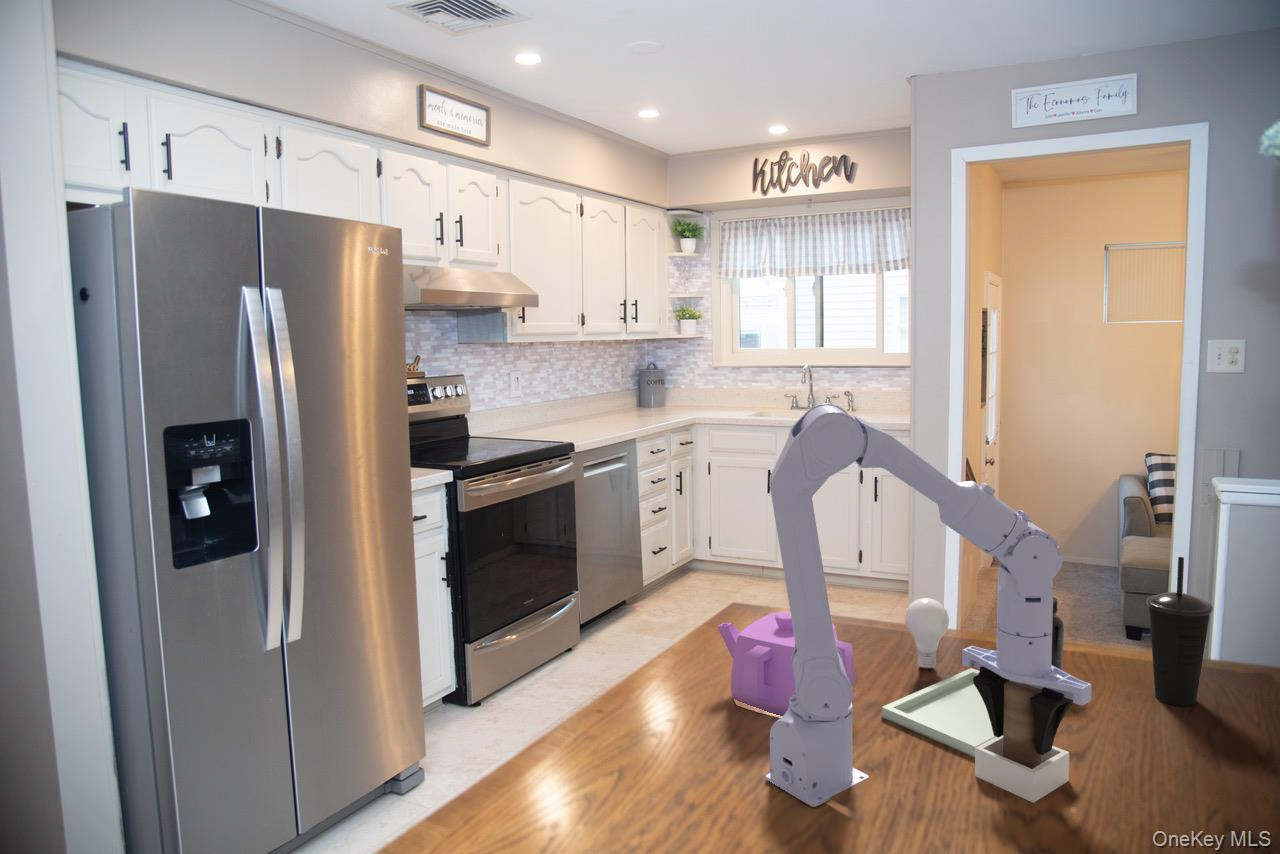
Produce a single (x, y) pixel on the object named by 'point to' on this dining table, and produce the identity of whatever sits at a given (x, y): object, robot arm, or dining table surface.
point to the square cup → (1021, 771)
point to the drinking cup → (1178, 642)
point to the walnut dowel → (1019, 724)
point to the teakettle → (768, 661)
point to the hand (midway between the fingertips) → (1022, 742)
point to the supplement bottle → (1057, 638)
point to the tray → (946, 713)
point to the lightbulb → (926, 628)
